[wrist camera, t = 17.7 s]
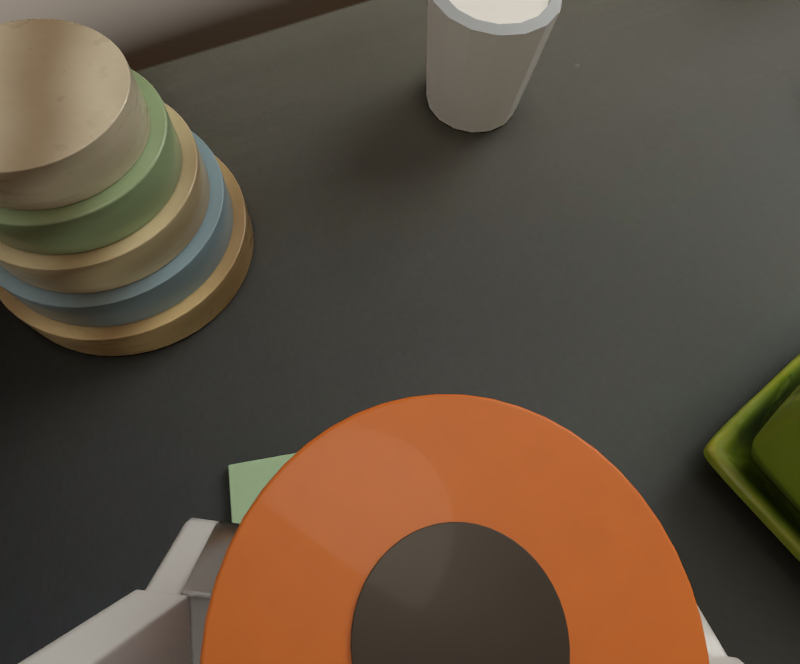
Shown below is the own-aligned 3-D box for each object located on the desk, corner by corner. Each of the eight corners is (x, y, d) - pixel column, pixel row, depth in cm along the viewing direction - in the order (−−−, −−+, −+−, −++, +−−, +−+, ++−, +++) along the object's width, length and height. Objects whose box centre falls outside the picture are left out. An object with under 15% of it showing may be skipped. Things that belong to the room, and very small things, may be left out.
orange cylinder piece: (308, 765, 12) (211, 1102, 4) (281, 504, 14) (186, 432, 7) (548, 703, 12) (813, 902, 5) (487, 464, 15) (610, 359, 7)
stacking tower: (-2, 375, 24) (-223, 261, 15) (20, 169, 29) (-139, -14, 20) (263, 335, 26) (208, 210, 17) (244, 146, 31) (193, -33, 21)
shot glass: (441, 151, 31) (460, 45, 25) (400, 71, 34) (408, -45, 27) (544, 125, 33) (588, 18, 26) (497, 50, 35) (527, -66, 29)
